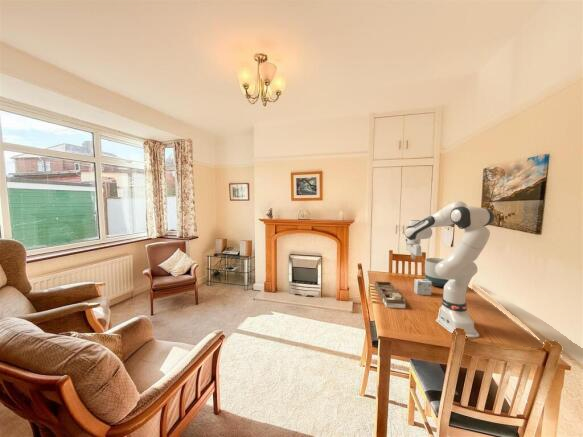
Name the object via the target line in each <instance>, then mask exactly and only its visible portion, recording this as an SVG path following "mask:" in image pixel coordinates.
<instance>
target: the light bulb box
mask: <svg viewBox="0 0 583 437" xmlns="http://www.w3.org/2000/svg"><path fill="white" fill-rule="evenodd" d="M413 282H414V286H413V287H414V288H413V292H414V293H415V294H416V295H418V296H431V295H432V286H433V285H432V282H431V281H429V280H428V279H426V278H424V279H423V278H421V279H420V278H414V281H413Z"/></svg>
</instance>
